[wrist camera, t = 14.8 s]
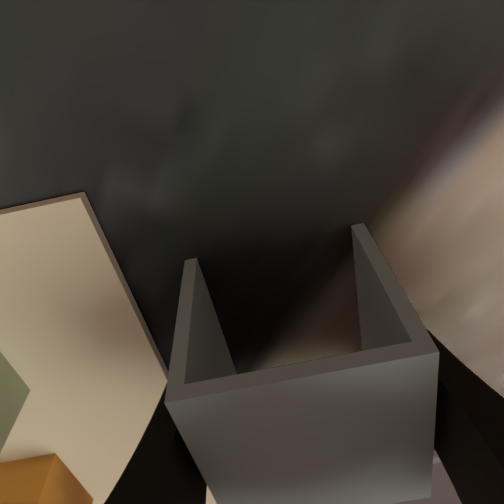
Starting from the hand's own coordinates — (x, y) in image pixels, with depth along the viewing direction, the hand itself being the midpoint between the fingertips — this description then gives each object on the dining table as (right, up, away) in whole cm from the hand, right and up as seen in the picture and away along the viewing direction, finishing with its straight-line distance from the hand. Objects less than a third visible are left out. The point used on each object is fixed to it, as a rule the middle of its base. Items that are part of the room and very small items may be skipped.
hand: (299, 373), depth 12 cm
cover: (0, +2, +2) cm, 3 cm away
